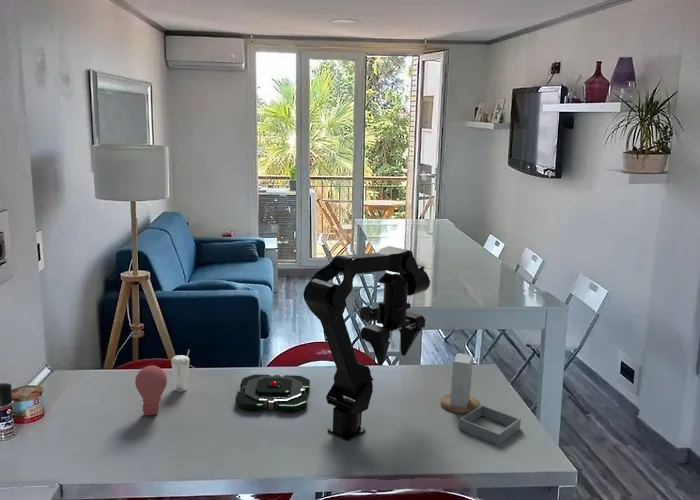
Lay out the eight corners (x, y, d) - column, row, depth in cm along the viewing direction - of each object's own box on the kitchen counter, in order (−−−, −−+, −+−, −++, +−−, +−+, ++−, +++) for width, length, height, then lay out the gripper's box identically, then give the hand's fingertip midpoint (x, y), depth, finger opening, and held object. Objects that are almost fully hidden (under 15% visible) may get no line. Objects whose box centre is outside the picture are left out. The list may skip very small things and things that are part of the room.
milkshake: (196, 387, 166) (195, 351, 163) (180, 394, 161) (179, 357, 159) (183, 382, 168) (183, 347, 166) (168, 389, 163) (167, 353, 161)
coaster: (466, 418, 155) (467, 415, 154) (432, 404, 161) (433, 401, 161) (487, 405, 162) (487, 402, 162) (454, 392, 168) (454, 390, 168)
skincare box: (453, 395, 165) (457, 352, 162) (470, 398, 163) (473, 355, 161) (449, 405, 159) (452, 360, 156) (466, 408, 158) (470, 363, 155)
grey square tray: (498, 444, 142) (499, 434, 142) (458, 428, 149) (459, 418, 149) (519, 428, 150) (520, 419, 150) (481, 413, 157) (481, 404, 156)
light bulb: (173, 414, 151) (172, 367, 148) (146, 424, 146) (144, 375, 143) (157, 404, 155) (156, 358, 153) (130, 413, 150) (129, 366, 148)
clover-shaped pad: (310, 384, 171) (310, 368, 170) (307, 415, 153) (307, 398, 152) (243, 382, 171) (243, 366, 170) (233, 413, 153) (233, 396, 152)
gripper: (392, 285, 164) (389, 342, 167) (344, 299, 150) (342, 361, 153) (428, 294, 156) (424, 353, 160) (380, 310, 143) (377, 374, 146)
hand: (392, 360), depth 155 cm, fingers open, 9 cm apart
